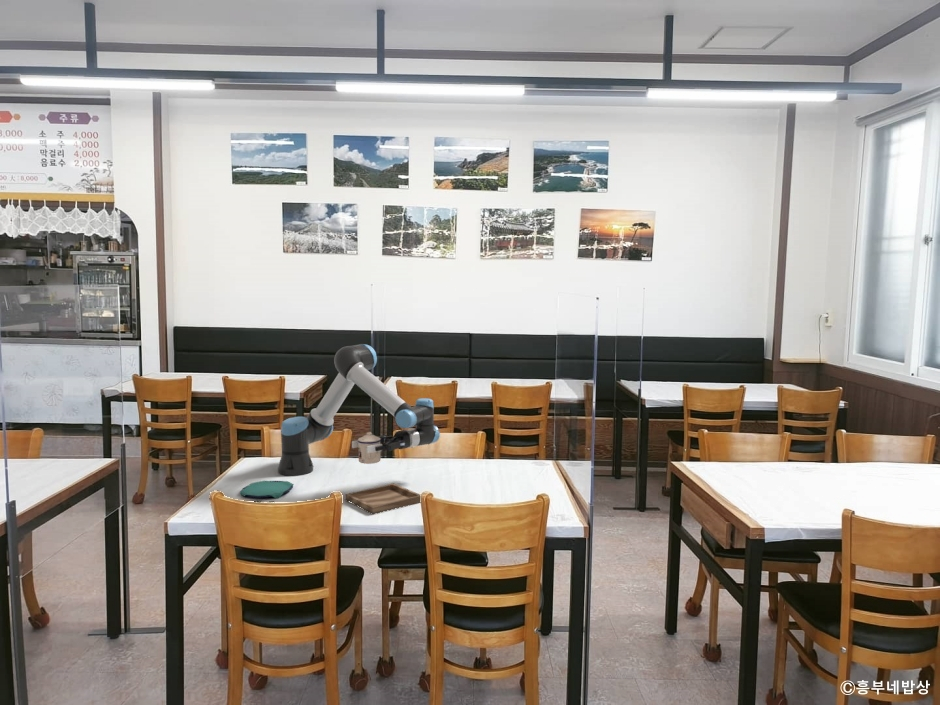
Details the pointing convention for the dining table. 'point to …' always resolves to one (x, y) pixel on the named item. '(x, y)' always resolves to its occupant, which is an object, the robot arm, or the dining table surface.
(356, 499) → the walnut tray
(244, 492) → the green cloth
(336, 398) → the robot arm
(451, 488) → the dining table surface
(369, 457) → the teacup with lid
